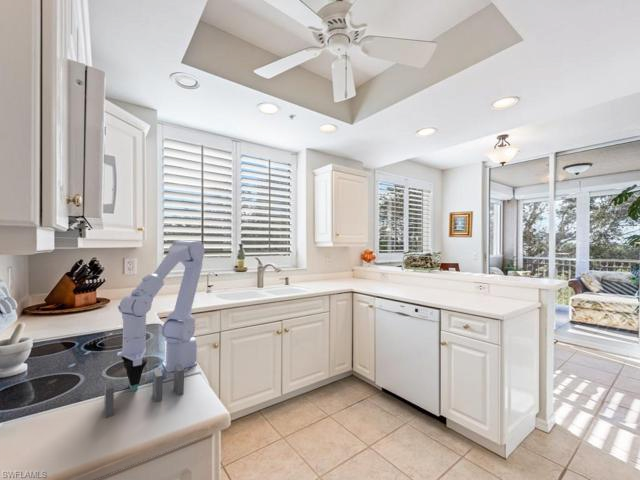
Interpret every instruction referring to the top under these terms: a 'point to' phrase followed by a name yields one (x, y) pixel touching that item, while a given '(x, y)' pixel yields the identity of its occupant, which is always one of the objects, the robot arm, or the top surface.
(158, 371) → the domino
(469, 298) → the top surface
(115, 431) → the top surface
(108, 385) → the domino
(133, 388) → the domino
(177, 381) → the domino
